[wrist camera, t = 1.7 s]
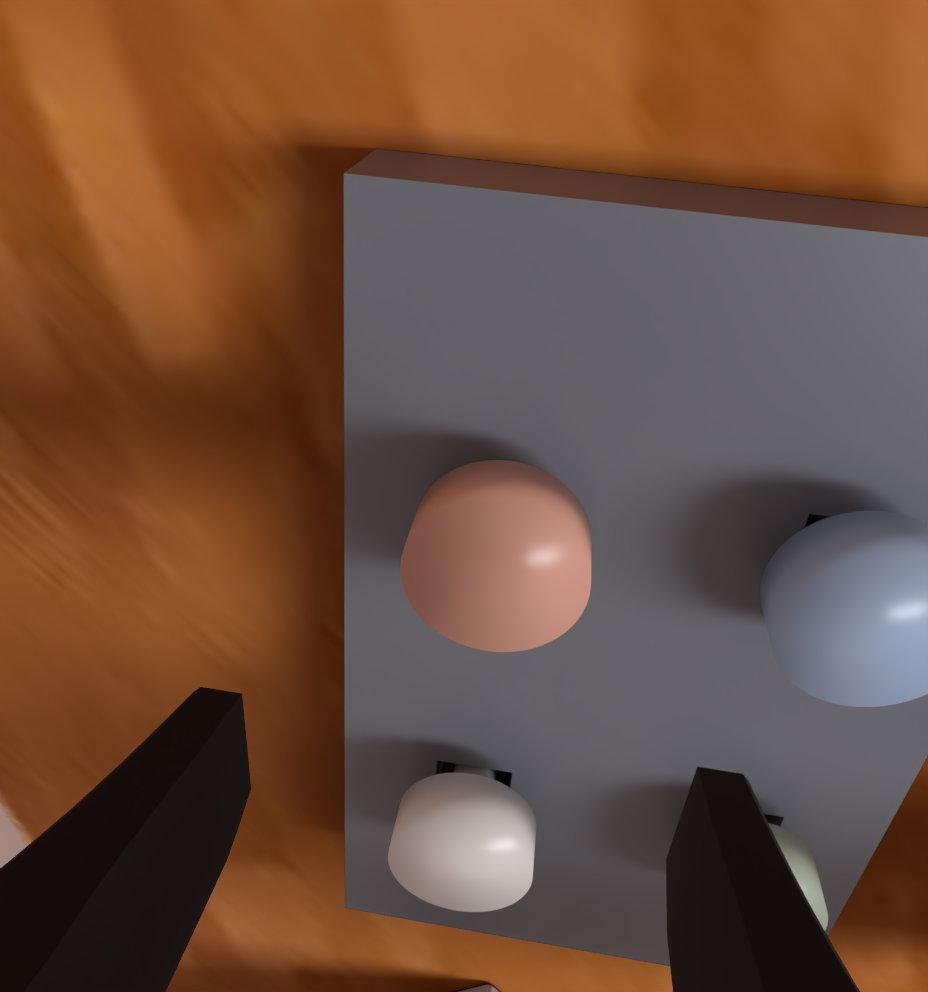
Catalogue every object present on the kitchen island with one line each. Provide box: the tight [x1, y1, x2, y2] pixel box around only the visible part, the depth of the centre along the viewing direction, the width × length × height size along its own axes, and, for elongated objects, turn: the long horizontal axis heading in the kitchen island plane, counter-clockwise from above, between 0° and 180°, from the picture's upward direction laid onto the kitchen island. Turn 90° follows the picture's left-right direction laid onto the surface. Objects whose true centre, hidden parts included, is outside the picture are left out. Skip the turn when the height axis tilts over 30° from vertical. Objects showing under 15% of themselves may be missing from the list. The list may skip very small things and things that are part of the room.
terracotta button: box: [400, 460, 592, 652], centre depth 17 cm, size 4×4×4 cm
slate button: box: [760, 511, 928, 707], centre depth 17 cm, size 4×4×4 cm
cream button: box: [388, 763, 536, 912], centre depth 22 cm, size 4×4×4 cm
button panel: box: [344, 149, 928, 966], centre depth 21 cm, size 14×22×2 cm, turn 176°
